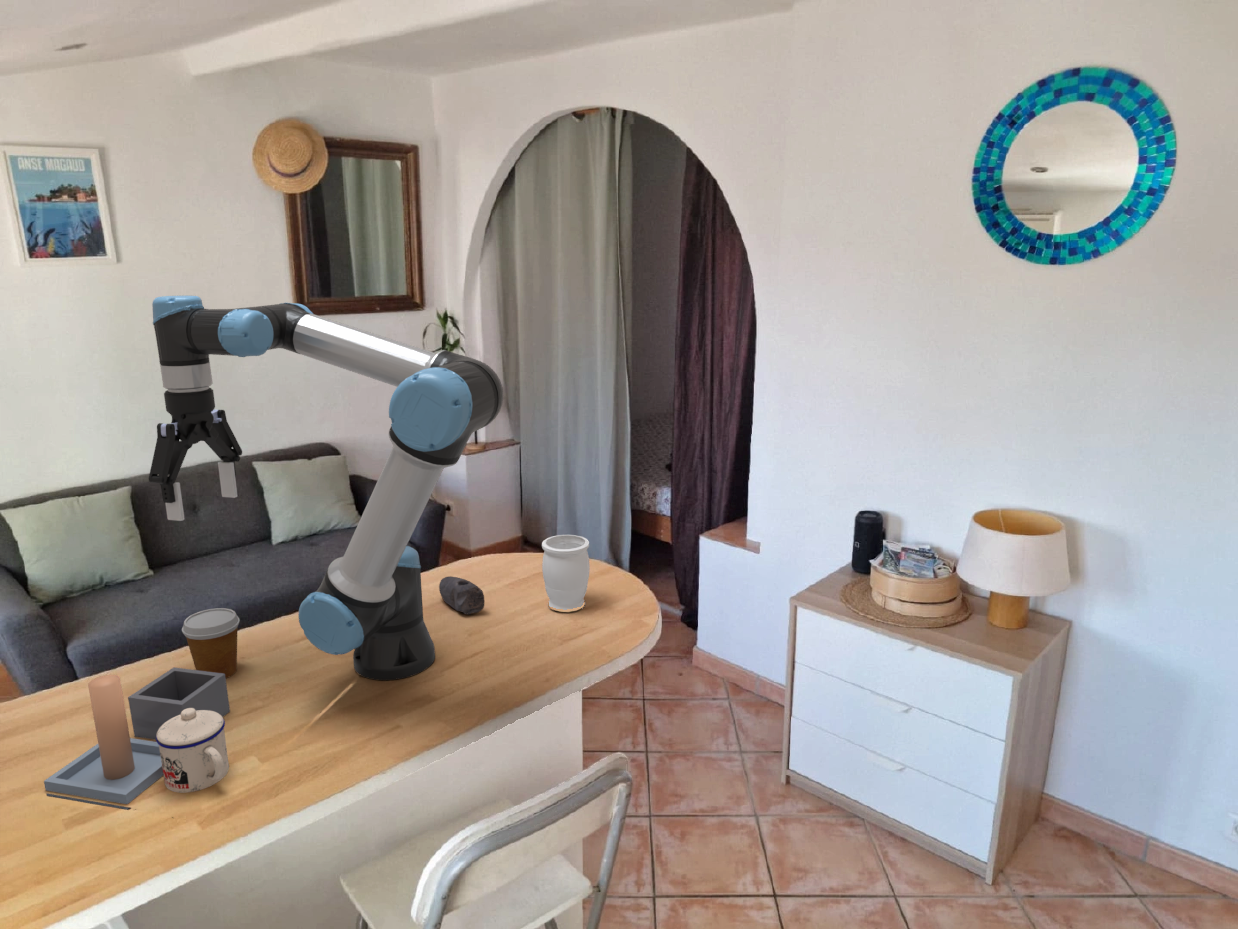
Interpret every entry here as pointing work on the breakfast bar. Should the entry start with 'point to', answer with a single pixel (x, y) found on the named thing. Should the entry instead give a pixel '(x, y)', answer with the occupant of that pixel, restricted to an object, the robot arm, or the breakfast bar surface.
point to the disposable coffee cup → (213, 640)
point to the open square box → (176, 698)
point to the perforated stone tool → (462, 595)
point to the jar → (565, 570)
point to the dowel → (111, 726)
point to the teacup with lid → (193, 750)
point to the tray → (91, 783)
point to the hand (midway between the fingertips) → (204, 508)
